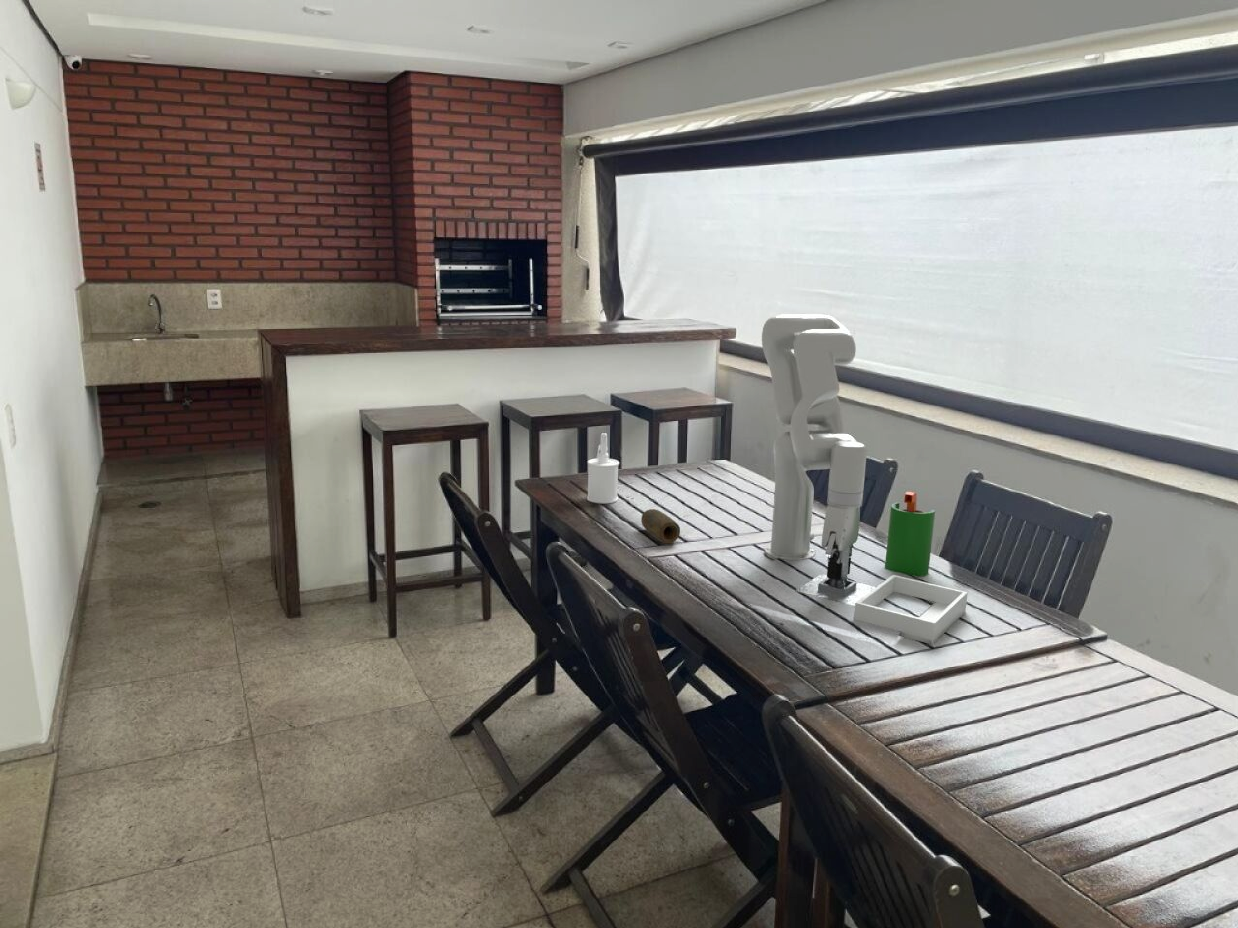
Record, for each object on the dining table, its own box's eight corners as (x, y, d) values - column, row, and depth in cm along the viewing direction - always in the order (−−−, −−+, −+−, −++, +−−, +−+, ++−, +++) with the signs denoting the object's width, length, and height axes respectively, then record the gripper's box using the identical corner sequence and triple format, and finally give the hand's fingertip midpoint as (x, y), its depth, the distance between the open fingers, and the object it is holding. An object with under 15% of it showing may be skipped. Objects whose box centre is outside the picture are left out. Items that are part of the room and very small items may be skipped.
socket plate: (820, 577, 227) (821, 567, 227) (878, 591, 219) (879, 581, 219) (794, 594, 216) (795, 584, 216) (853, 610, 208) (854, 599, 208)
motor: (930, 568, 236) (939, 489, 231) (925, 580, 228) (934, 498, 223) (887, 561, 240) (895, 483, 235) (881, 572, 232) (889, 492, 227)
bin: (891, 593, 218) (892, 574, 217) (965, 611, 209) (967, 592, 208) (853, 623, 201) (855, 602, 200) (932, 644, 192) (934, 623, 191)
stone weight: (684, 544, 249) (685, 519, 247) (660, 547, 246) (661, 522, 245) (659, 527, 262) (660, 503, 261) (636, 530, 260) (637, 506, 258)
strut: (831, 584, 221) (836, 527, 217) (850, 588, 218) (855, 531, 215) (823, 589, 217) (828, 531, 214) (842, 594, 215) (847, 535, 211)
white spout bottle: (617, 504, 282) (619, 437, 278) (586, 503, 282) (587, 436, 278) (618, 494, 293) (620, 429, 288) (587, 493, 293) (589, 429, 288)
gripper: (844, 486, 221) (837, 562, 226) (812, 502, 208) (806, 582, 212) (875, 492, 217) (868, 569, 221) (845, 508, 204) (838, 590, 208)
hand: (838, 575), depth 217 cm, fingers closed on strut, 4 cm apart
